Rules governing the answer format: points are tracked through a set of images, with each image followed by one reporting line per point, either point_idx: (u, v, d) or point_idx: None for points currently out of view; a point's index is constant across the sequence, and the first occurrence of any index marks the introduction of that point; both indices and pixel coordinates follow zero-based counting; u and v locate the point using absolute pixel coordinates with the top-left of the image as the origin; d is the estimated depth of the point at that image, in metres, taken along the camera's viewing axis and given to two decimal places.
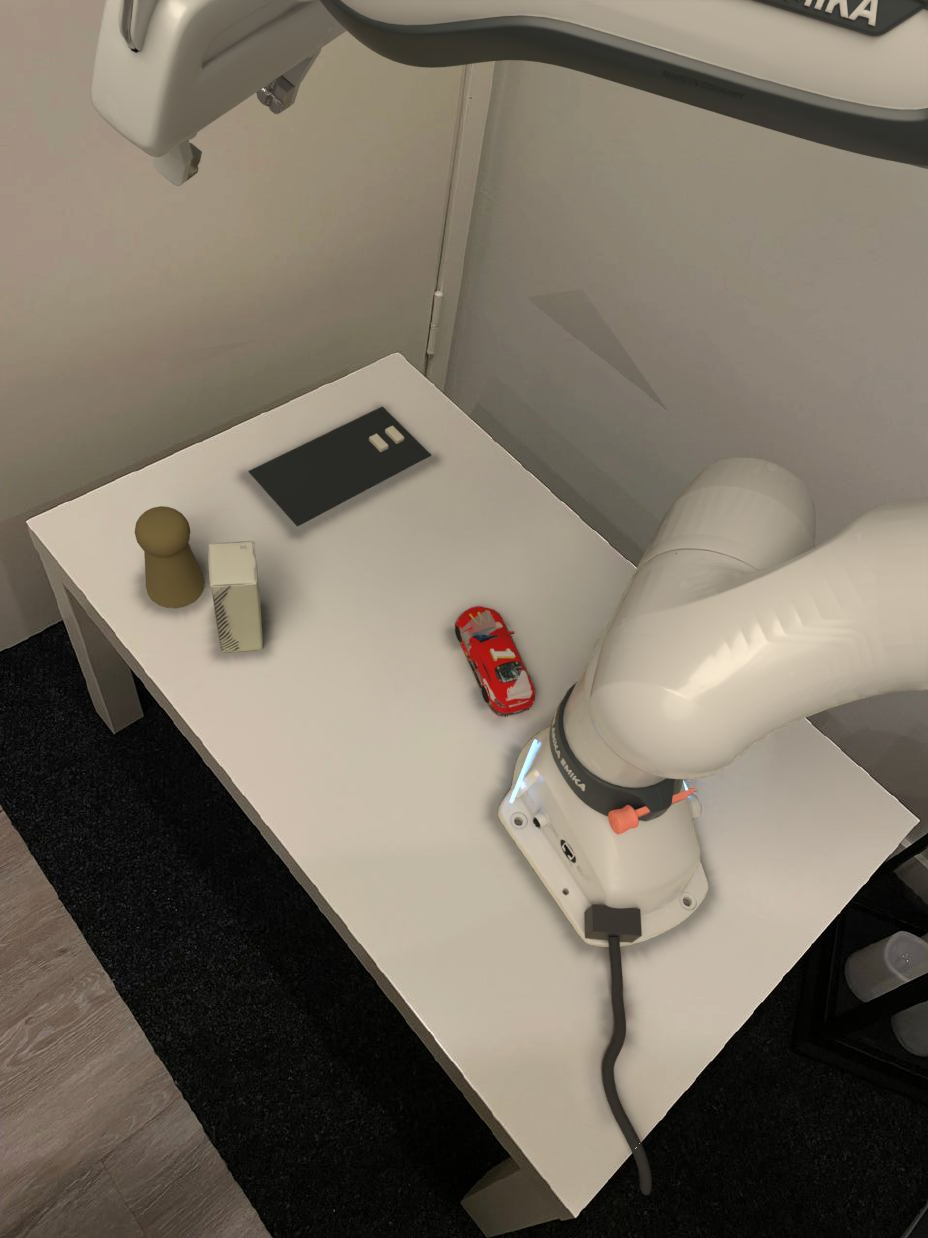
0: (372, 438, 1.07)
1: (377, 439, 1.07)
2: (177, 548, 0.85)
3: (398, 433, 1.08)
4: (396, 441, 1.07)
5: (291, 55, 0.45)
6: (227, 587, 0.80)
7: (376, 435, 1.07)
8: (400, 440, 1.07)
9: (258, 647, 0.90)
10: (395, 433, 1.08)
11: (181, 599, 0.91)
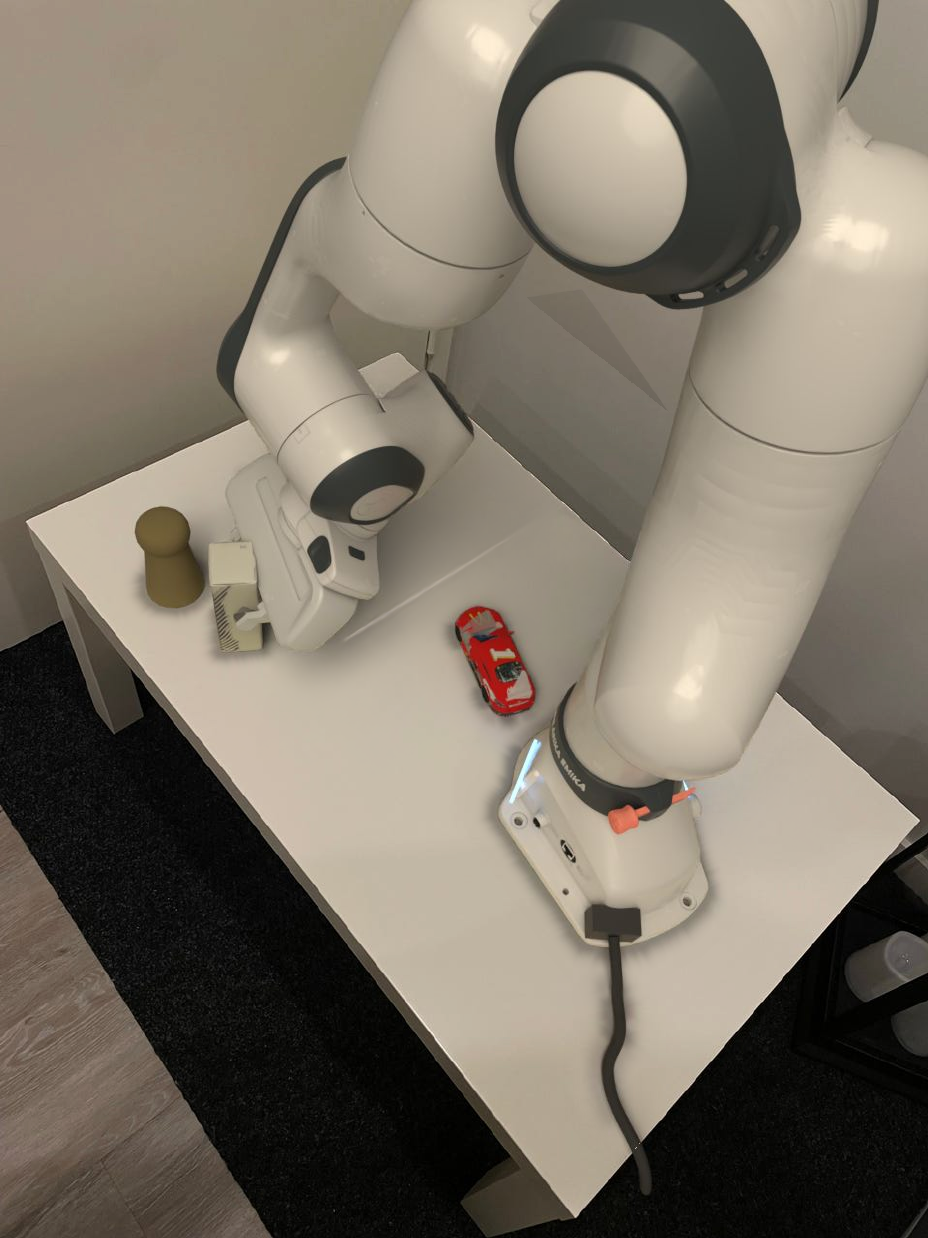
0: None
1: None
2: (178, 548, 0.85)
3: None
4: None
5: (260, 565, 0.81)
6: (227, 586, 0.80)
7: None
8: None
9: (258, 647, 0.90)
10: None
11: (181, 599, 0.91)
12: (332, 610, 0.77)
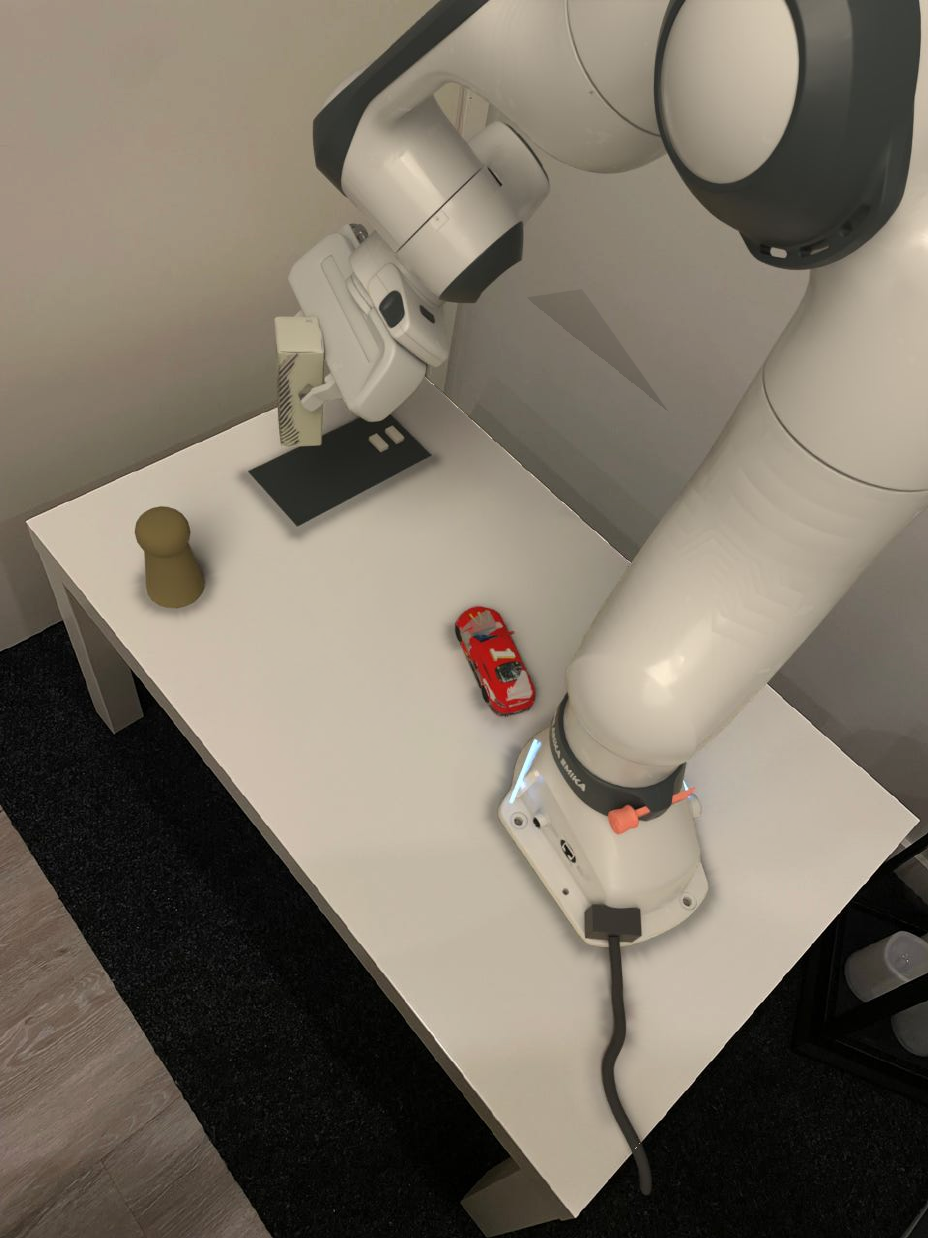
0: (372, 438, 1.07)
1: (377, 439, 1.07)
2: (178, 548, 0.85)
3: (398, 433, 1.08)
4: (396, 441, 1.07)
5: (327, 338, 0.81)
6: (295, 355, 0.79)
7: (376, 435, 1.07)
8: (400, 440, 1.07)
9: (317, 442, 0.90)
10: (395, 433, 1.08)
11: (181, 599, 0.91)
12: (403, 370, 0.77)
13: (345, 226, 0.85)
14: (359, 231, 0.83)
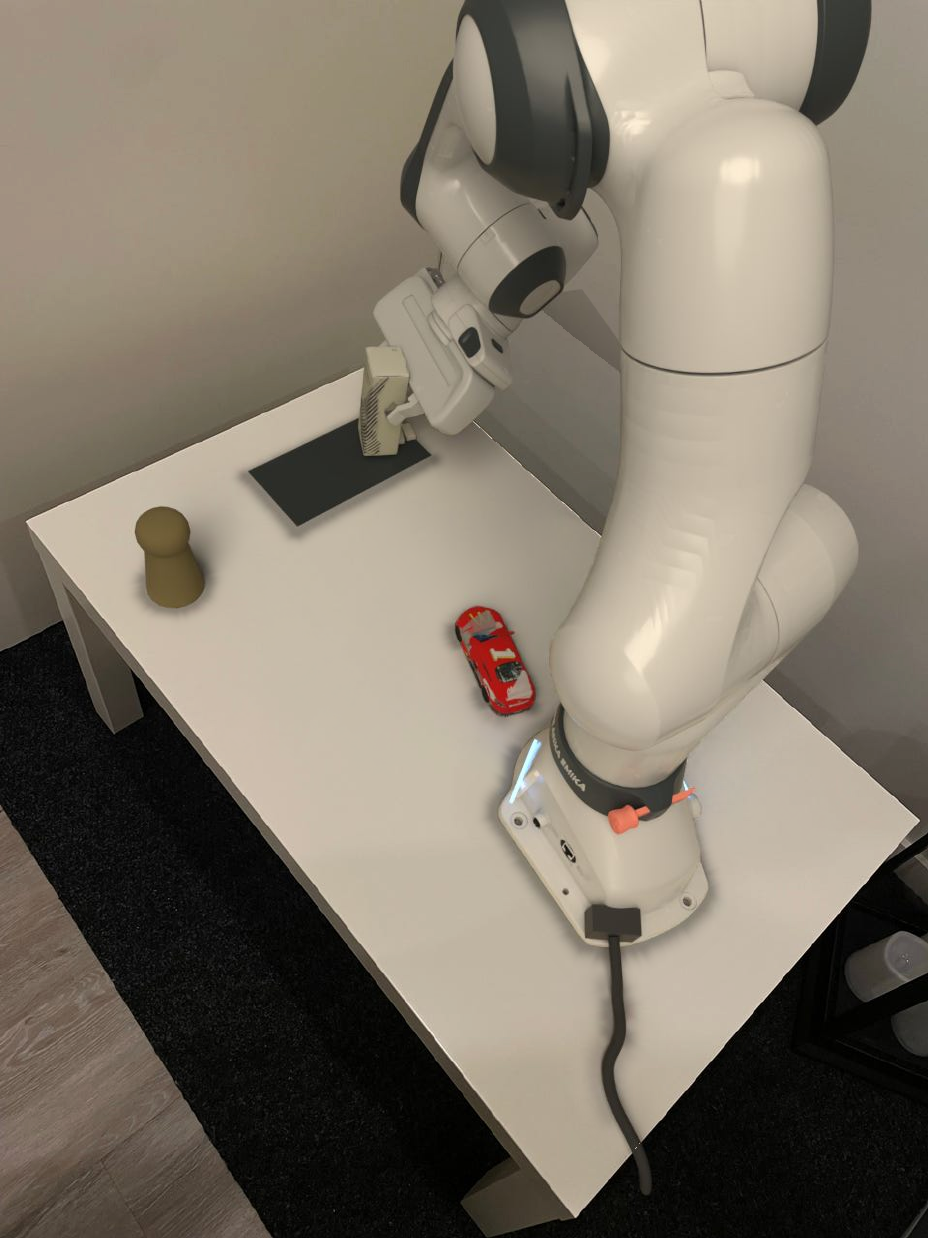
0: None
1: None
2: (178, 548, 0.85)
3: (411, 431, 1.08)
4: (407, 438, 1.08)
5: (410, 364, 0.97)
6: (386, 378, 0.95)
7: None
8: (411, 438, 1.08)
9: (394, 451, 1.06)
10: (409, 431, 1.08)
11: (181, 599, 0.91)
12: (477, 392, 0.92)
13: (422, 270, 1.01)
14: (435, 274, 0.99)
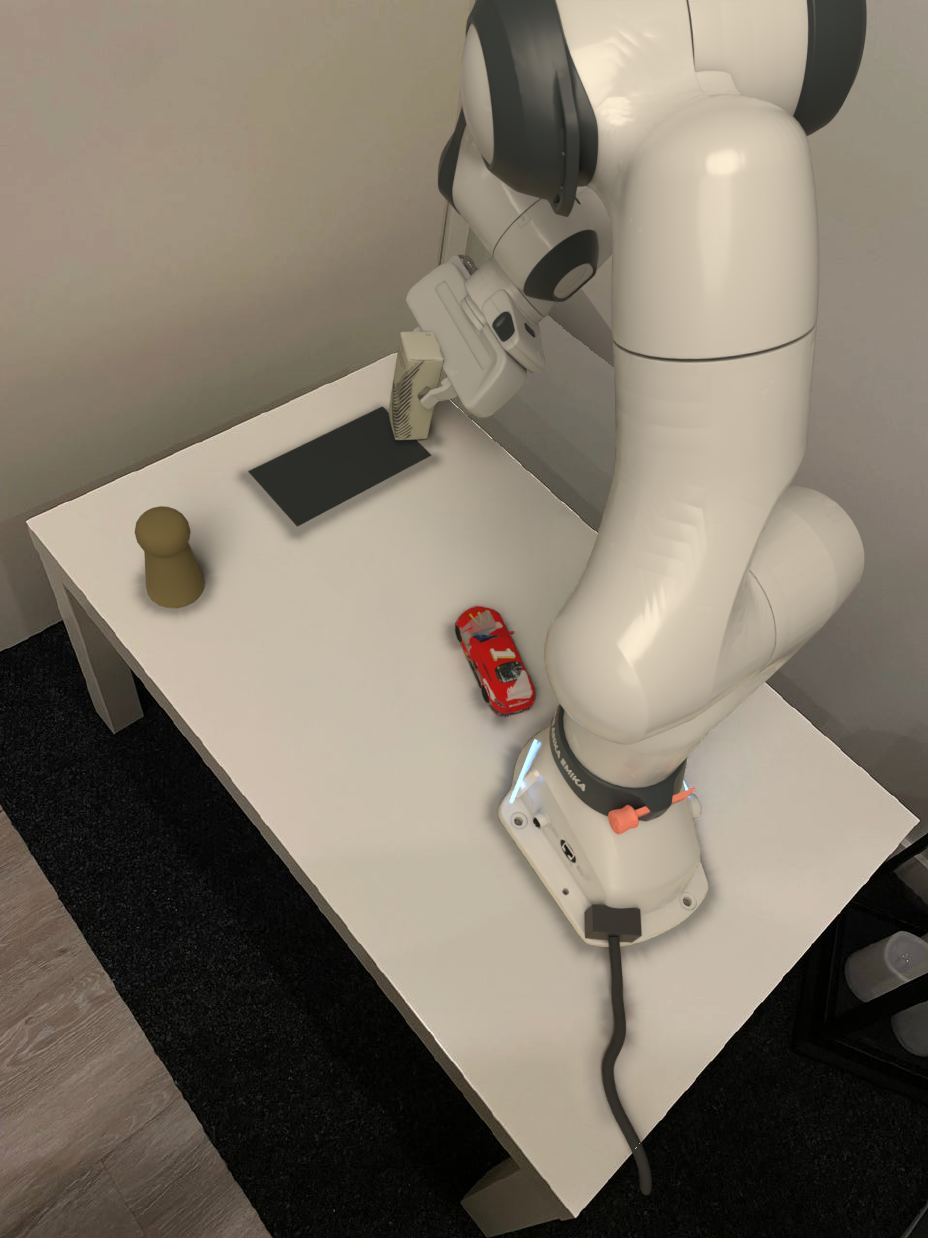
0: None
1: None
2: (178, 548, 0.85)
3: None
4: None
5: (444, 349, 0.99)
6: (421, 362, 0.97)
7: None
8: None
9: (425, 436, 1.08)
10: None
11: (181, 599, 0.91)
12: (511, 375, 0.95)
13: (454, 257, 1.03)
14: (467, 261, 1.01)
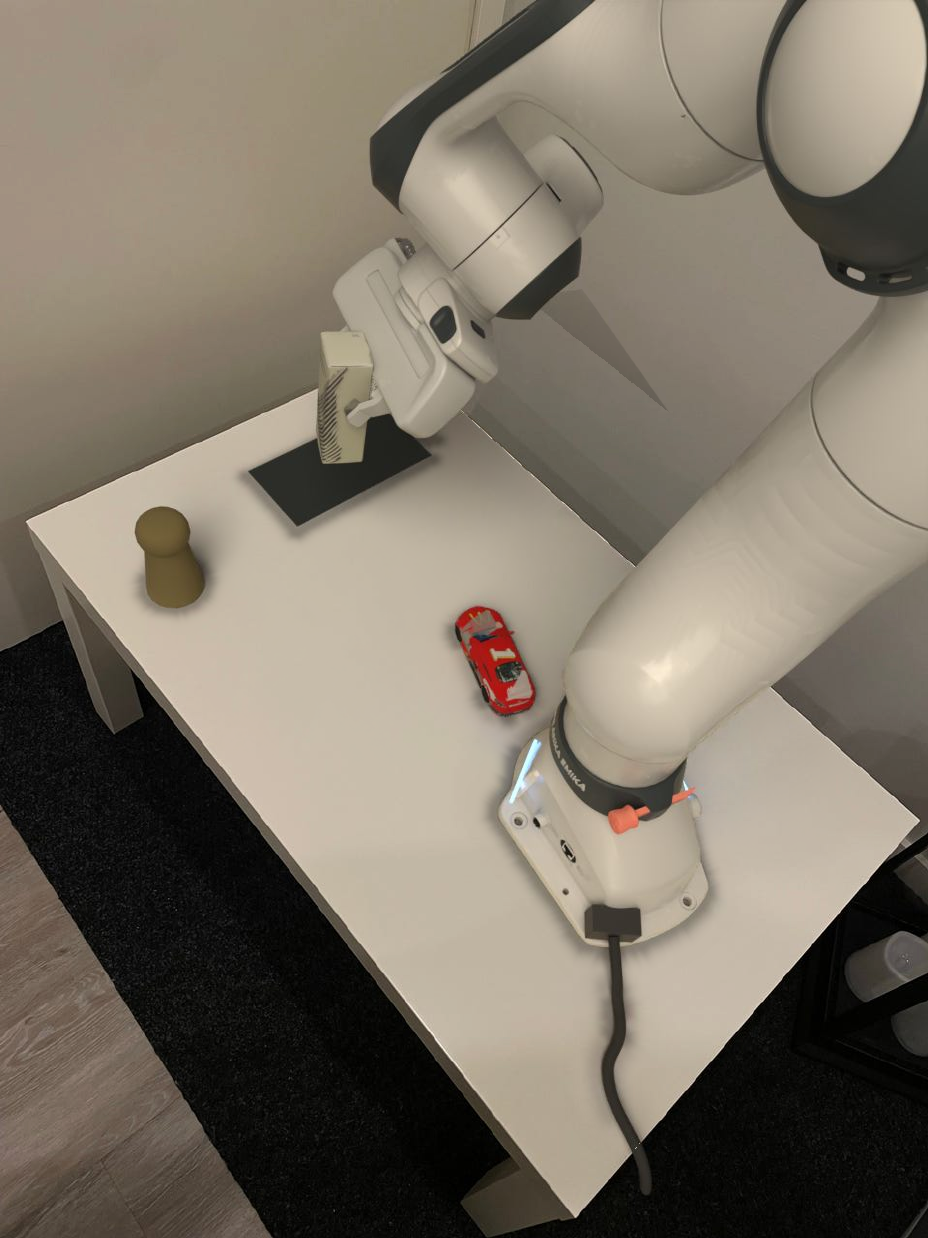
0: None
1: None
2: (177, 548, 0.85)
3: None
4: None
5: (374, 353, 0.80)
6: (344, 369, 0.79)
7: None
8: None
9: (359, 458, 0.89)
10: None
11: (181, 599, 0.91)
12: (454, 386, 0.76)
13: (391, 240, 0.84)
14: (405, 245, 0.82)
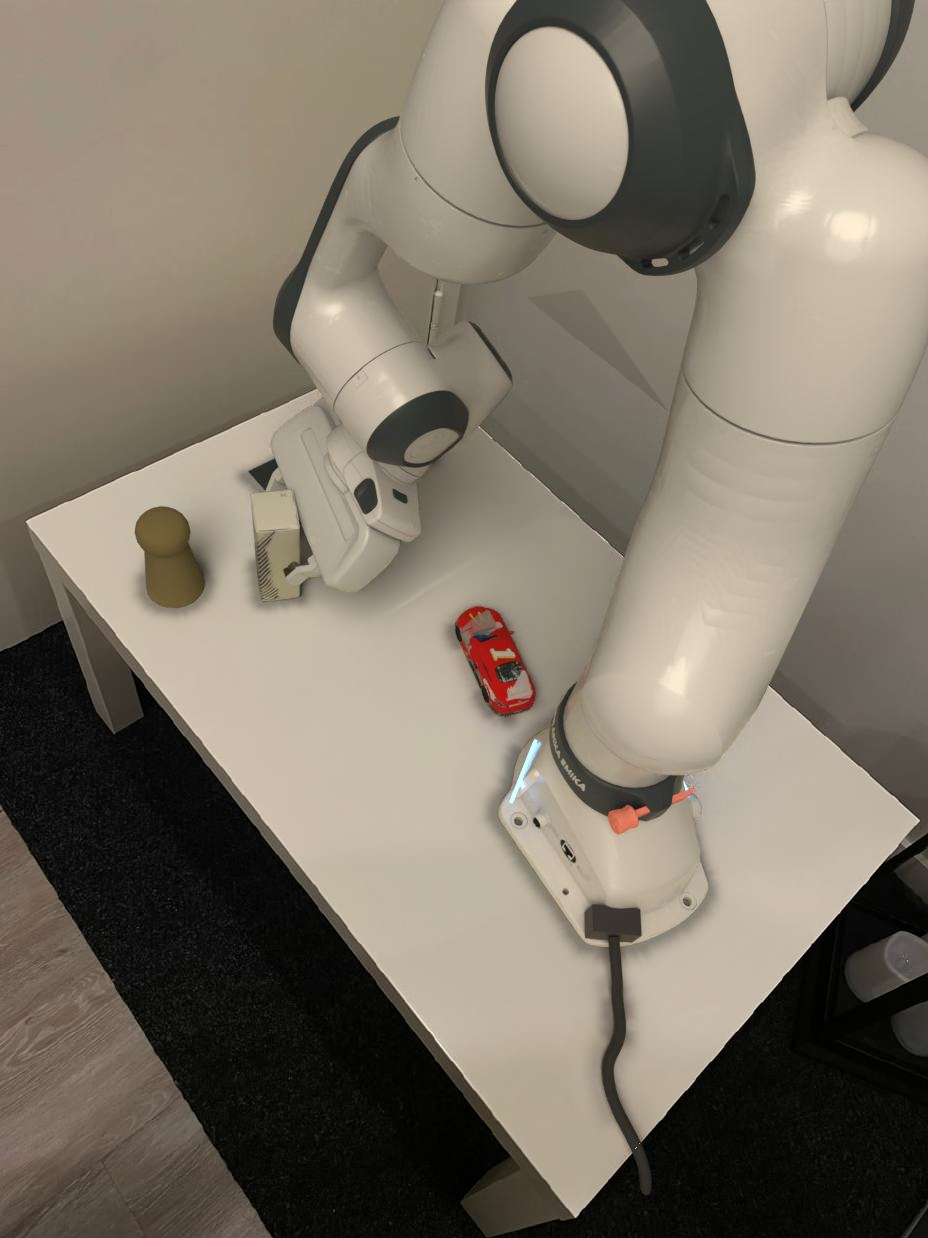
0: None
1: None
2: (177, 548, 0.85)
3: None
4: None
5: (306, 511, 0.85)
6: (272, 532, 0.84)
7: None
8: None
9: (296, 595, 0.94)
10: None
11: (181, 599, 0.91)
12: (377, 550, 0.81)
13: None
14: None
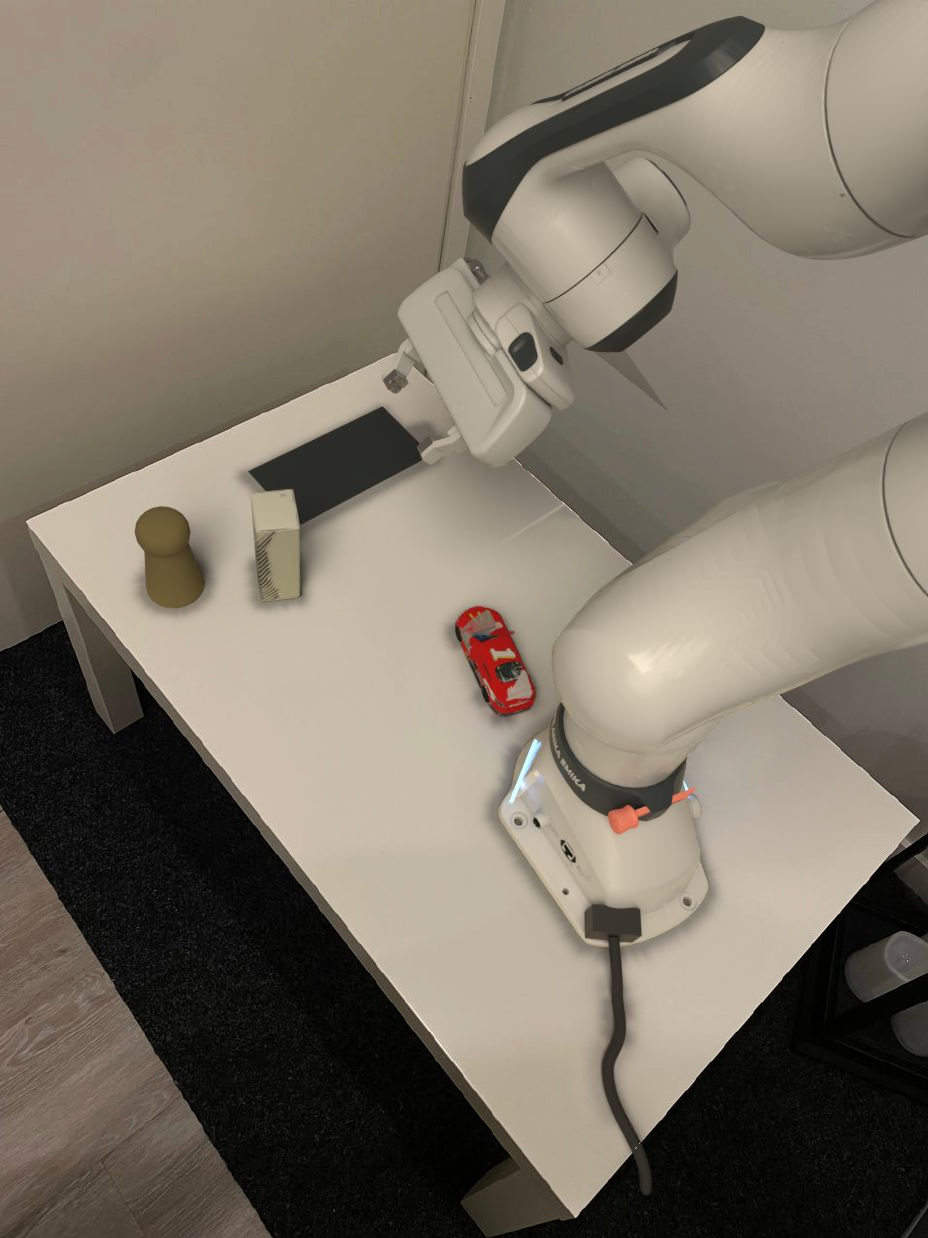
0: None
1: None
2: (178, 548, 0.85)
3: None
4: None
5: (446, 378, 0.78)
6: (272, 532, 0.84)
7: None
8: None
9: (296, 595, 0.94)
10: None
11: (181, 599, 0.91)
12: (532, 414, 0.73)
13: (459, 260, 0.81)
14: (476, 266, 0.80)
